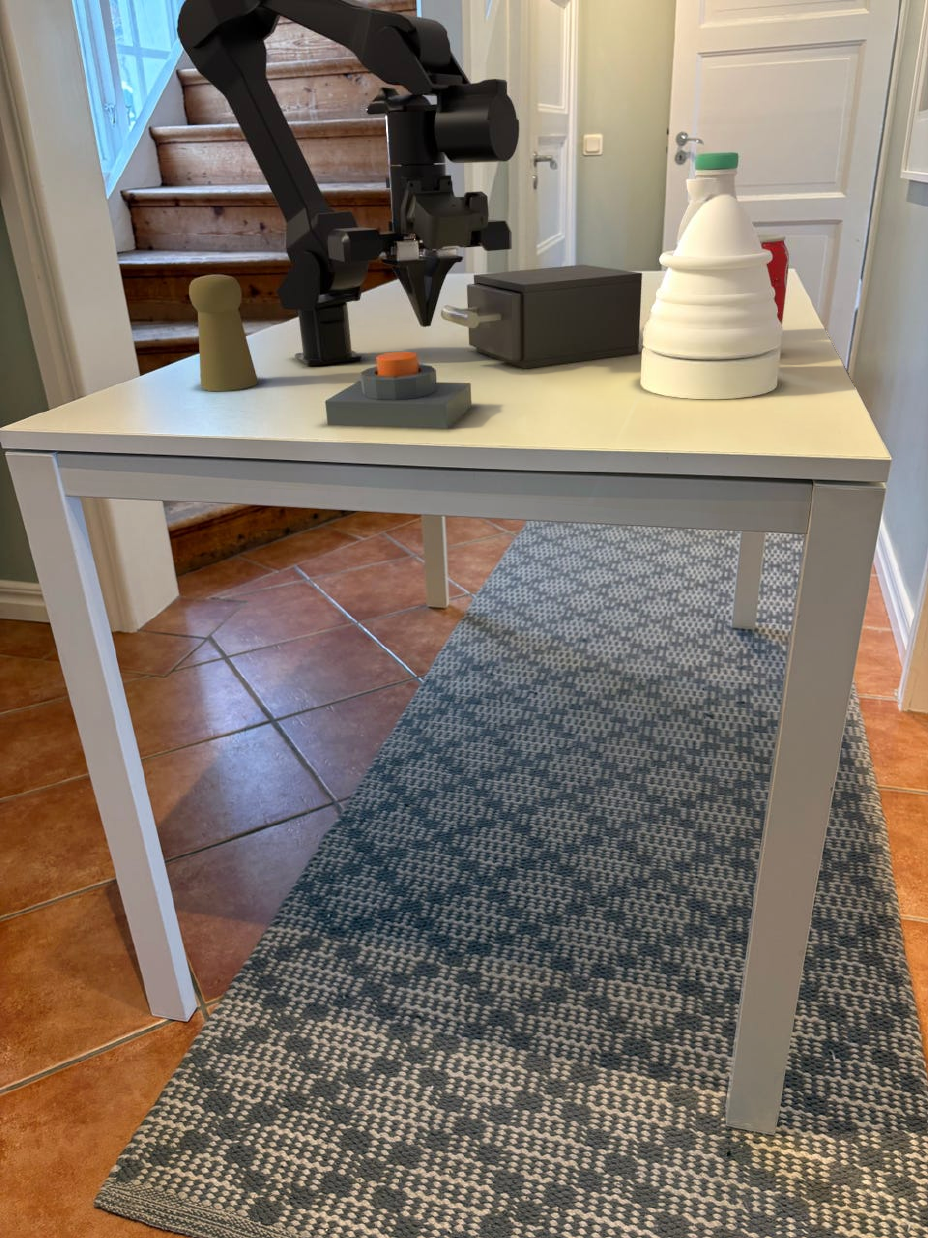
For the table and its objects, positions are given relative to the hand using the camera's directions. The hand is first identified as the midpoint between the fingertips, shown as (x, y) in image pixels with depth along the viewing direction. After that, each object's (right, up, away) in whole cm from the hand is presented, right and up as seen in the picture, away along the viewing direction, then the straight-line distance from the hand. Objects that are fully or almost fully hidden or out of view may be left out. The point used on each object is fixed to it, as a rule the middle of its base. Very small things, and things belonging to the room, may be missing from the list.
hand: (425, 325), depth 97 cm
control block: (-1, -13, -16) cm, 21 cm away
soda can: (+35, -3, +2) cm, 35 cm away
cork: (-21, -7, -1) cm, 22 cm away
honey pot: (+28, -9, -10) cm, 31 cm away
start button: (-2, -10, -18) cm, 21 cm away
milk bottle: (+33, +2, +11) cm, 35 cm away
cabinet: (+15, -1, +7) cm, 17 cm away
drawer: (+11, -1, +6) cm, 13 cm away
